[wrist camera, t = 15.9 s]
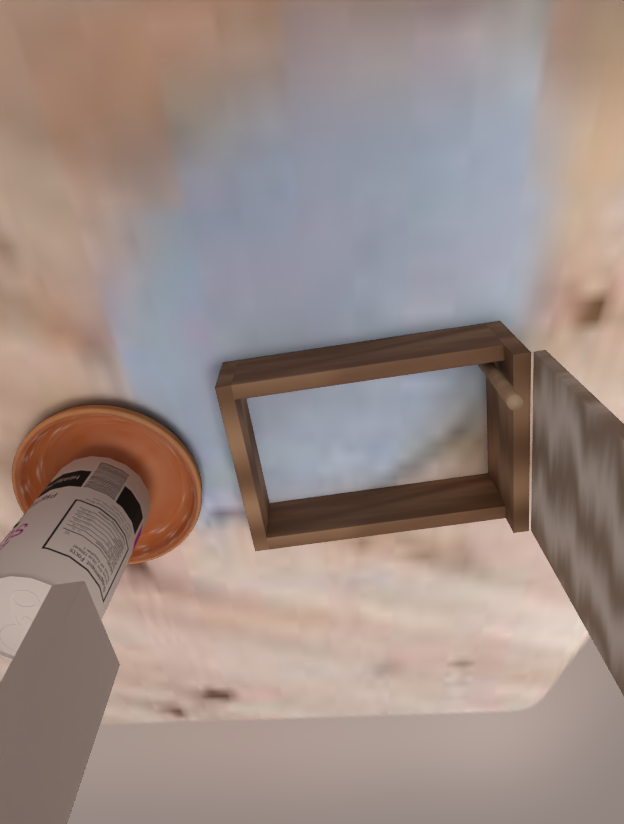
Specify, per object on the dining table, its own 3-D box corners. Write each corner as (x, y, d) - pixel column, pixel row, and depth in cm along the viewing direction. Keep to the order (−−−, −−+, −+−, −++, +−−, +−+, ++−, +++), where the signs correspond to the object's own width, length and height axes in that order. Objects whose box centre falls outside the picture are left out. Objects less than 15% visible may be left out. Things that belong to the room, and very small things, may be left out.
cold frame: (222, 362, 48) (165, 545, 28) (512, 319, 47) (678, 476, 26) (259, 515, 55) (234, 754, 34) (513, 481, 54) (645, 706, 33)
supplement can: (152, 539, 52) (95, 676, 38) (57, 530, 52) (-35, 665, 38) (153, 457, 49) (90, 575, 35) (52, 447, 49) (-52, 562, 35)
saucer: (151, 571, 58) (143, 592, 56) (-4, 491, 54) (-20, 511, 51) (240, 456, 53) (237, 475, 50) (75, 358, 48) (62, 372, 46)
